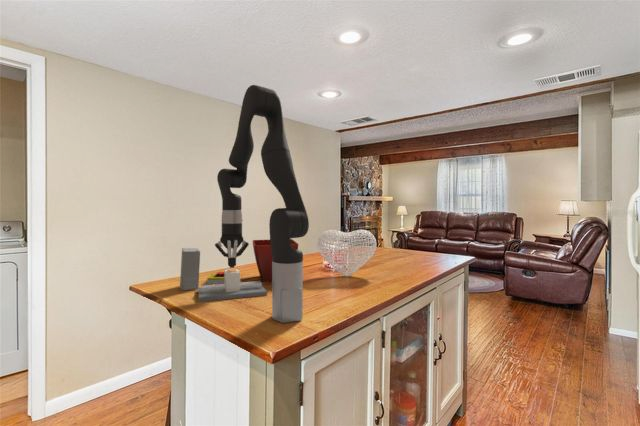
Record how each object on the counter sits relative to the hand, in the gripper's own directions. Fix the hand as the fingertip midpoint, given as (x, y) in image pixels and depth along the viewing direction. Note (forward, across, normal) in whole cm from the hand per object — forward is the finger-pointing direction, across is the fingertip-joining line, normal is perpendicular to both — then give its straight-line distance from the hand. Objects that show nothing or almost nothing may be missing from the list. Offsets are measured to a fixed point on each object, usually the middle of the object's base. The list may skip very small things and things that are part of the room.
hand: (231, 267), depth 124 cm
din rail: (+8, 0, 0) cm, 8 cm away
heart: (+10, -54, -11) cm, 56 cm away
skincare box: (+10, +15, -14) cm, 23 cm away
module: (+8, 0, 0) cm, 9 cm away
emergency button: (+11, +1, -20) cm, 23 cm away
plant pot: (+10, -21, -19) cm, 30 cm away
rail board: (+10, 0, 0) cm, 10 cm away
